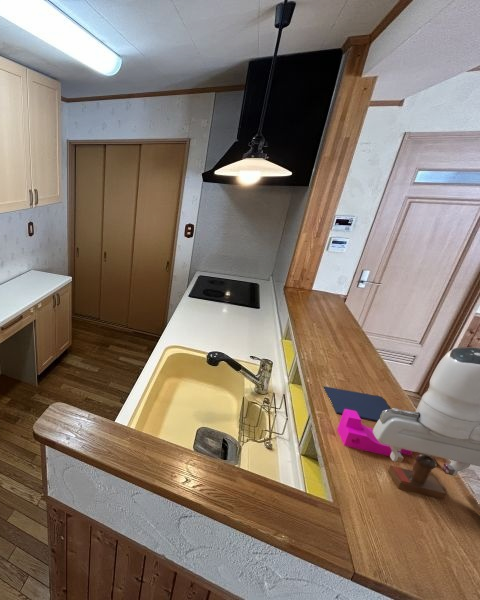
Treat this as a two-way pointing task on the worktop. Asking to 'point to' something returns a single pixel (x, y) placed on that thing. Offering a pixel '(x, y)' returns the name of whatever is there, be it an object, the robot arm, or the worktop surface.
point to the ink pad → (357, 403)
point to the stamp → (418, 478)
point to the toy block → (361, 435)
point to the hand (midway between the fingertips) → (421, 466)
